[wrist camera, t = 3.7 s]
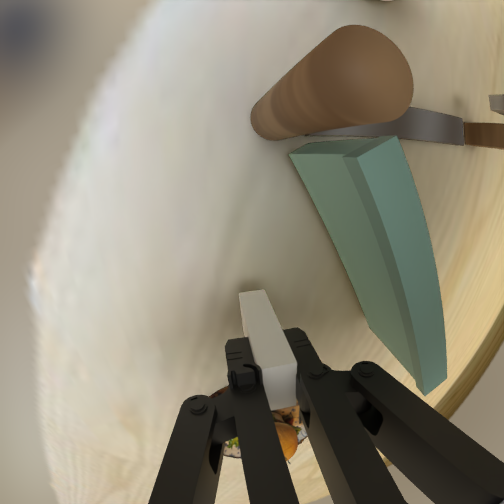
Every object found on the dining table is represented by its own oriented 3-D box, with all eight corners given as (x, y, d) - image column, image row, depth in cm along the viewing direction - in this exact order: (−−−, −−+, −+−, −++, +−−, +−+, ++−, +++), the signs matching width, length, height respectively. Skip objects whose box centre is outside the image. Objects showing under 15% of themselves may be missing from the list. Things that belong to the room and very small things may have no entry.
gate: (285, 155, 15) (356, 157, 8) (311, 141, 15) (396, 135, 8) (367, 329, 20) (424, 396, 13) (385, 316, 20) (447, 378, 13)
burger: (172, 423, 23) (171, 487, 16) (254, 353, 21) (275, 427, 14) (260, 455, 27) (273, 506, 20) (339, 400, 25) (368, 454, 18)
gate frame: (473, 105, 17) (568, 108, 7) (476, 150, 19) (572, 168, 8) (246, 74, 15) (305, -26, 4) (252, 142, 16) (329, 119, 6)
